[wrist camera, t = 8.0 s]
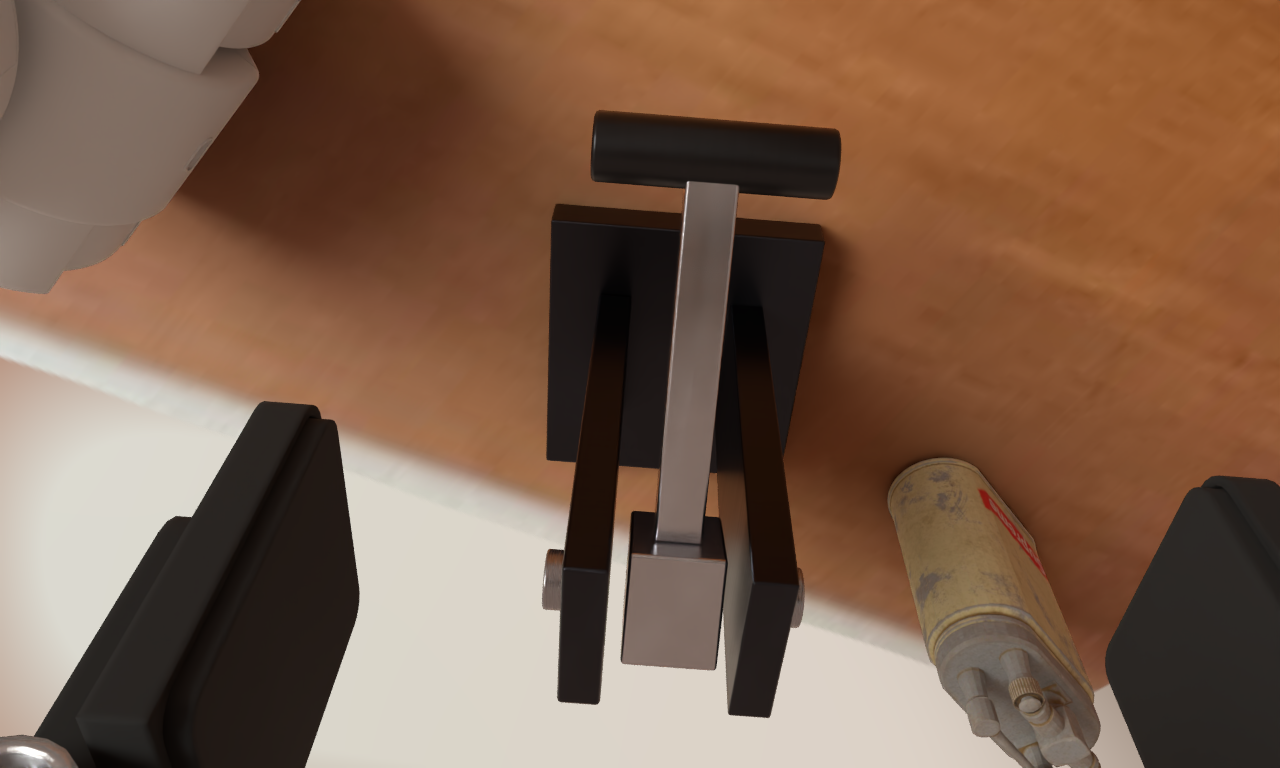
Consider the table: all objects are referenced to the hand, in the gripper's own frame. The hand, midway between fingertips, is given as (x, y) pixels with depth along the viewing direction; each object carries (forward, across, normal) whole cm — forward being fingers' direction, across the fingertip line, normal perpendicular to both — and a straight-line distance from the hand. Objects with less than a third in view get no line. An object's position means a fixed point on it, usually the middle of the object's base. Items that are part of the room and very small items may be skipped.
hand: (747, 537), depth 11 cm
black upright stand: (+19, 0, +10) cm, 22 cm away
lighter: (+19, -11, +17) cm, 28 cm away
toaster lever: (+11, 0, +6) cm, 12 cm away
